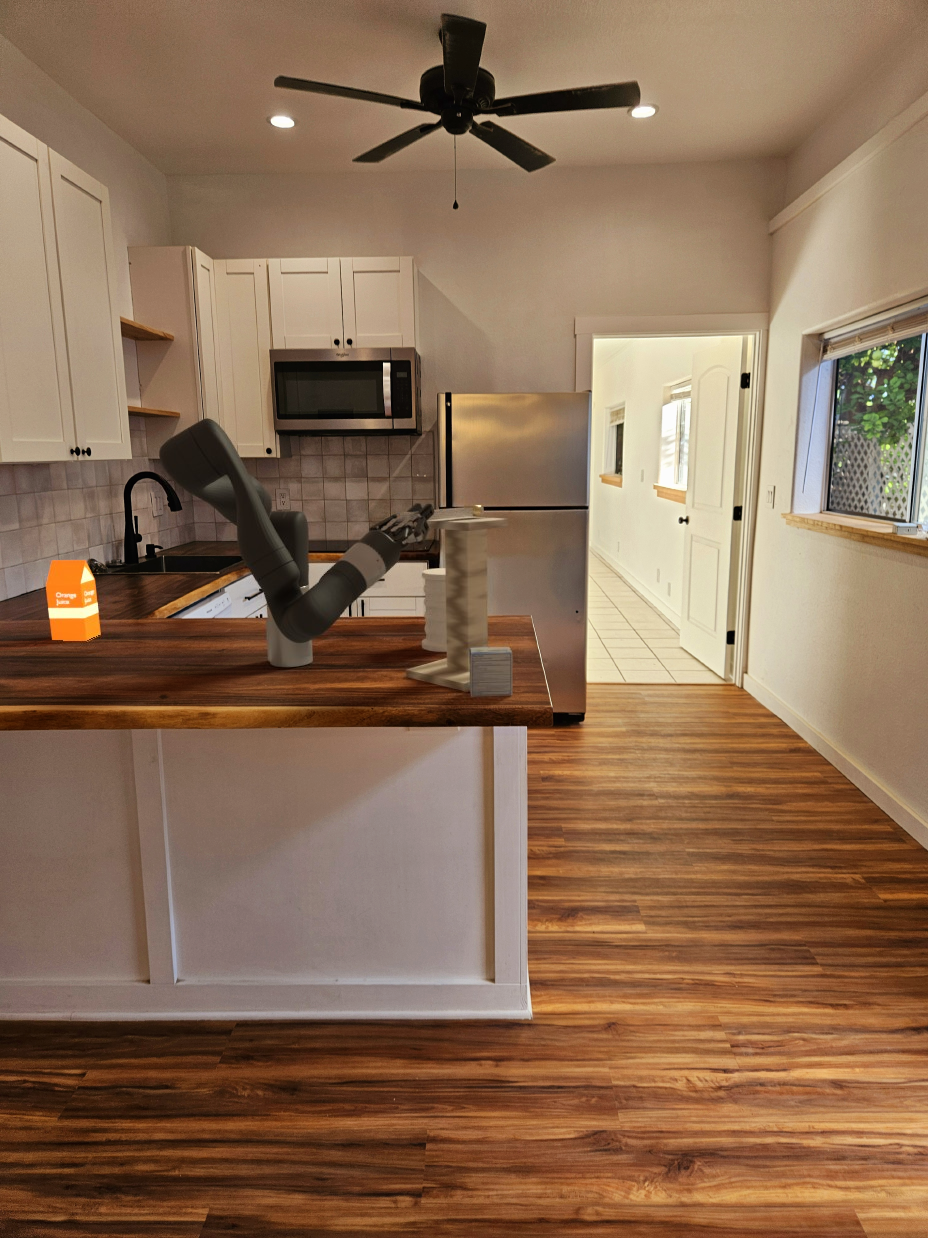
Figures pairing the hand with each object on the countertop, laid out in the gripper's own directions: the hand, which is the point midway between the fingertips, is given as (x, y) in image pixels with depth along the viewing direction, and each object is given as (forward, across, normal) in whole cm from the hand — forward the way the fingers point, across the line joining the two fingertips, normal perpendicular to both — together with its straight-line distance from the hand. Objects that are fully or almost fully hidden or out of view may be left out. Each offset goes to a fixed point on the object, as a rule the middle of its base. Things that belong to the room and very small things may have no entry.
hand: (425, 507), depth 151 cm
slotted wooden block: (+4, 0, +5) cm, 6 cm away
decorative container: (+5, +20, +44) cm, 48 cm away
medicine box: (-15, -13, +32) cm, 38 cm away
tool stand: (-10, 0, +34) cm, 36 cm away
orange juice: (-41, +99, +18) cm, 108 cm away
